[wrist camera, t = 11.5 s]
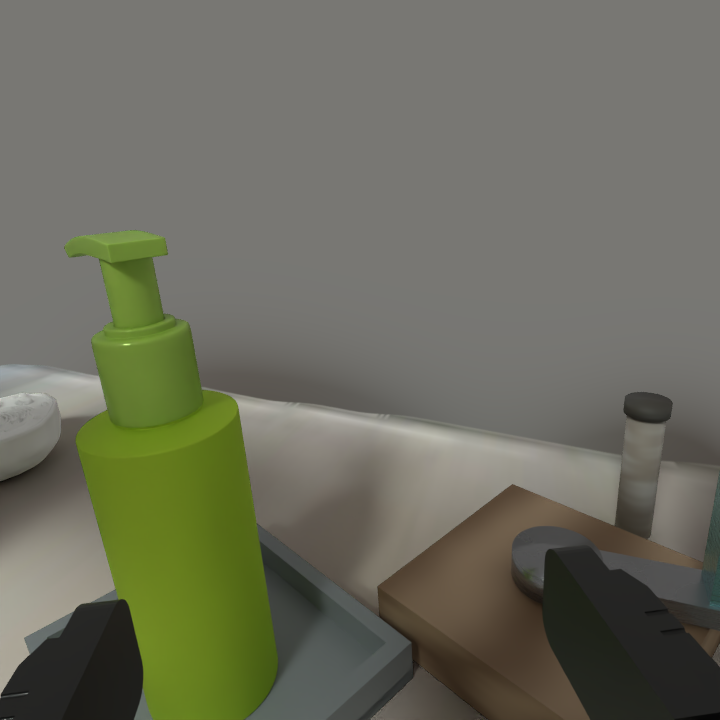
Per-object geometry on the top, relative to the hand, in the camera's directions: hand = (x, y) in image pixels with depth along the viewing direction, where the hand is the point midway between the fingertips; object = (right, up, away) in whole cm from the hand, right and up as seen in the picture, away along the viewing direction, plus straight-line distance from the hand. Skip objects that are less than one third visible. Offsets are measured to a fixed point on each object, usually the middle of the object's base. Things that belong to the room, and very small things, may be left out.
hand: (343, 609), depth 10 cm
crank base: (+12, -8, +18) cm, 23 cm away
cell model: (-30, -5, +36) cm, 47 cm away
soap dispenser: (-7, -10, +15) cm, 19 cm away
